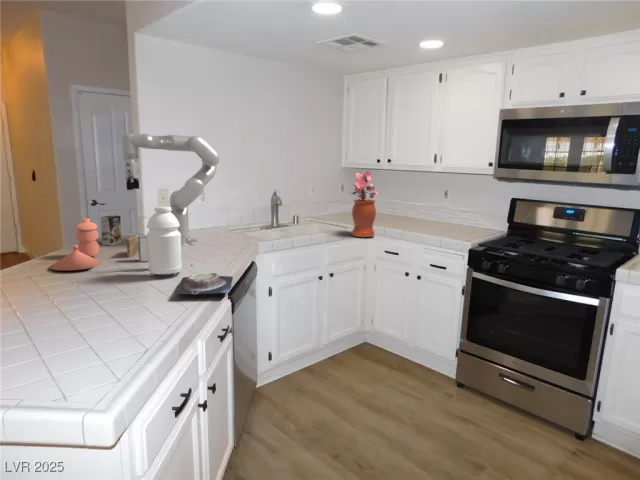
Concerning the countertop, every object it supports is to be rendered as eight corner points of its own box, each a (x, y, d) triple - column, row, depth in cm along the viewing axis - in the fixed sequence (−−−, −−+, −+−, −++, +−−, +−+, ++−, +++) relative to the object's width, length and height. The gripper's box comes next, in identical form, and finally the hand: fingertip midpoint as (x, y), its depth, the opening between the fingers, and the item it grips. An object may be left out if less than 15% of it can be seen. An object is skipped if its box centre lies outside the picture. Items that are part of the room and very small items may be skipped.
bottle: (188, 268, 191) (186, 206, 186) (168, 275, 178) (165, 209, 173) (162, 265, 195) (160, 204, 190) (141, 272, 182) (137, 207, 177)
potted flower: (352, 238, 282) (355, 170, 274) (344, 232, 307) (347, 169, 299) (380, 238, 285) (383, 170, 277) (370, 232, 310) (373, 170, 302)
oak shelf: (165, 251, 226) (164, 235, 224) (157, 257, 211) (157, 239, 210) (136, 251, 224) (135, 235, 222) (127, 257, 210) (126, 239, 208)
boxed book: (159, 259, 208) (158, 235, 206) (156, 261, 203) (155, 237, 201) (142, 259, 207) (141, 235, 205) (139, 261, 202) (138, 236, 200)
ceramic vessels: (96, 269, 186) (93, 226, 183) (42, 271, 181) (38, 227, 178) (113, 253, 219) (111, 217, 216) (68, 254, 214) (65, 217, 211)
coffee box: (111, 245, 239) (110, 217, 236) (101, 245, 240) (99, 216, 237) (122, 243, 247) (120, 215, 245) (112, 242, 249) (111, 215, 246)
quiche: (229, 293, 157) (229, 282, 156) (172, 294, 154) (172, 284, 154) (233, 276, 177) (232, 267, 177) (182, 277, 175) (182, 268, 174)
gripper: (132, 157, 221) (135, 190, 224) (143, 157, 238) (145, 188, 241) (117, 157, 221) (120, 190, 224) (129, 157, 237) (131, 188, 241)
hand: (133, 189), depth 232 cm, fingers open, 9 cm apart
